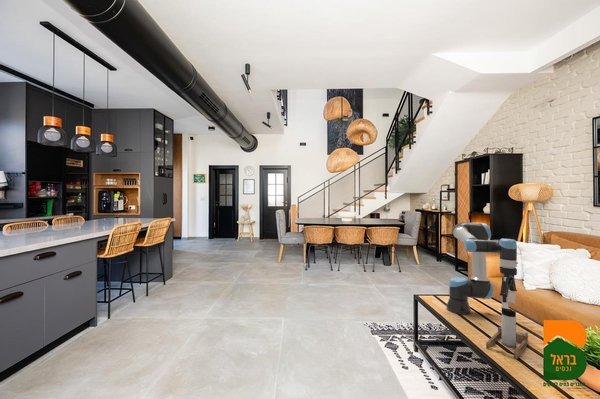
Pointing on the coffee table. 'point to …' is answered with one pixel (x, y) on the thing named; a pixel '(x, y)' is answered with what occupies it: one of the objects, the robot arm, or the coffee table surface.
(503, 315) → the travel mug
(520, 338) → the bay
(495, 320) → the coffee table surface
